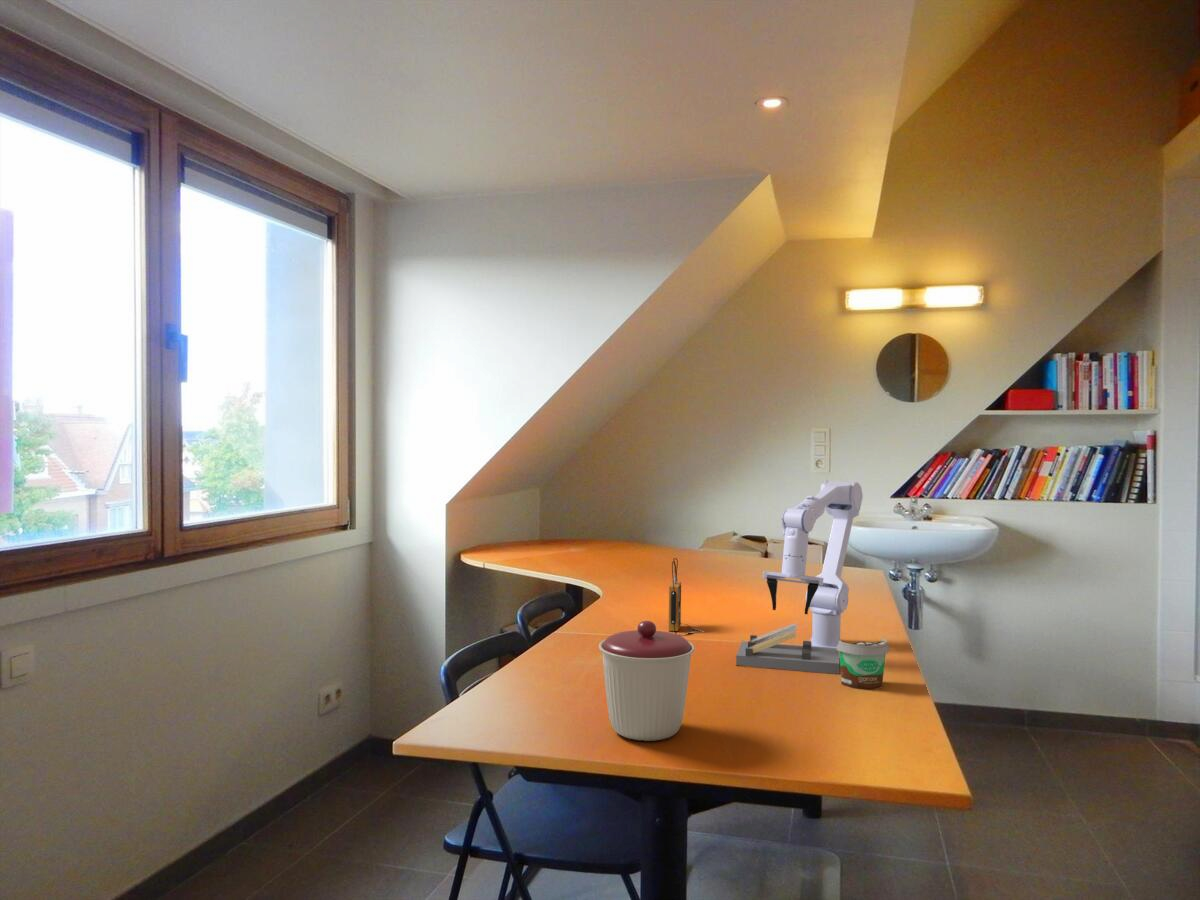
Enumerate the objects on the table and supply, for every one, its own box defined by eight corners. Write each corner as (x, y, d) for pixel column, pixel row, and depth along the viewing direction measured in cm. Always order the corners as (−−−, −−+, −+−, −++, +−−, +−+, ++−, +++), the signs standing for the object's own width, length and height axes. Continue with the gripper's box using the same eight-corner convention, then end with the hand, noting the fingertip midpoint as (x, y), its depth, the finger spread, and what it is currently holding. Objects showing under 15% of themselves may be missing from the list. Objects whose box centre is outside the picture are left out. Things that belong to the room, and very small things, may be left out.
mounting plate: (741, 650, 218) (741, 634, 218) (838, 658, 212) (838, 641, 212) (736, 665, 204) (736, 648, 204) (839, 674, 198) (839, 656, 198)
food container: (850, 693, 184) (851, 647, 184) (835, 684, 190) (836, 640, 190) (900, 689, 188) (900, 644, 187) (883, 680, 194) (884, 637, 193)
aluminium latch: (752, 646, 212) (750, 642, 213) (753, 642, 216) (751, 639, 216) (796, 629, 210) (795, 625, 210) (797, 626, 213) (795, 622, 213)
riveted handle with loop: (702, 637, 232) (703, 564, 231) (666, 635, 234) (667, 563, 233) (707, 624, 246) (707, 556, 245) (672, 623, 248) (673, 555, 247)
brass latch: (749, 654, 205) (747, 650, 205) (750, 650, 208) (748, 647, 208) (795, 637, 202) (793, 633, 202) (796, 633, 205) (794, 629, 205)
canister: (686, 715, 170) (688, 610, 169) (700, 749, 151) (701, 633, 151) (596, 715, 169) (597, 610, 168) (599, 750, 151) (600, 633, 150)
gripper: (764, 553, 207) (759, 609, 206) (825, 560, 204) (820, 617, 202) (765, 553, 214) (760, 607, 213) (824, 559, 210) (820, 614, 209)
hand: (790, 611), depth 208 cm, fingers open, 7 cm apart
